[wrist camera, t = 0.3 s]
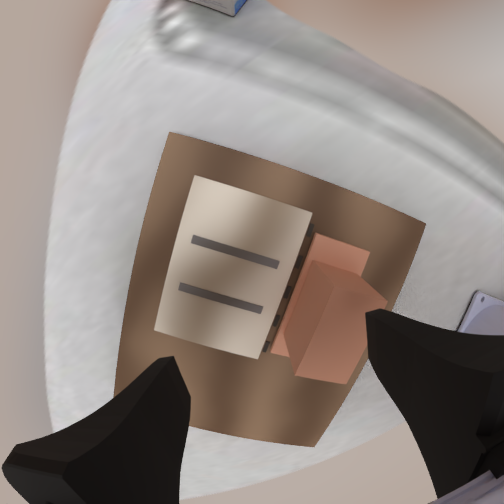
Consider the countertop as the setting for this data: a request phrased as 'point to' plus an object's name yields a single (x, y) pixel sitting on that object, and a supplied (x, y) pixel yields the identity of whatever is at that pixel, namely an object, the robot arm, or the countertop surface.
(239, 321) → the ticket board
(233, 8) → the medicine box
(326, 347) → the salmon block with base
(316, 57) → the countertop surface
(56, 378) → the countertop surface
